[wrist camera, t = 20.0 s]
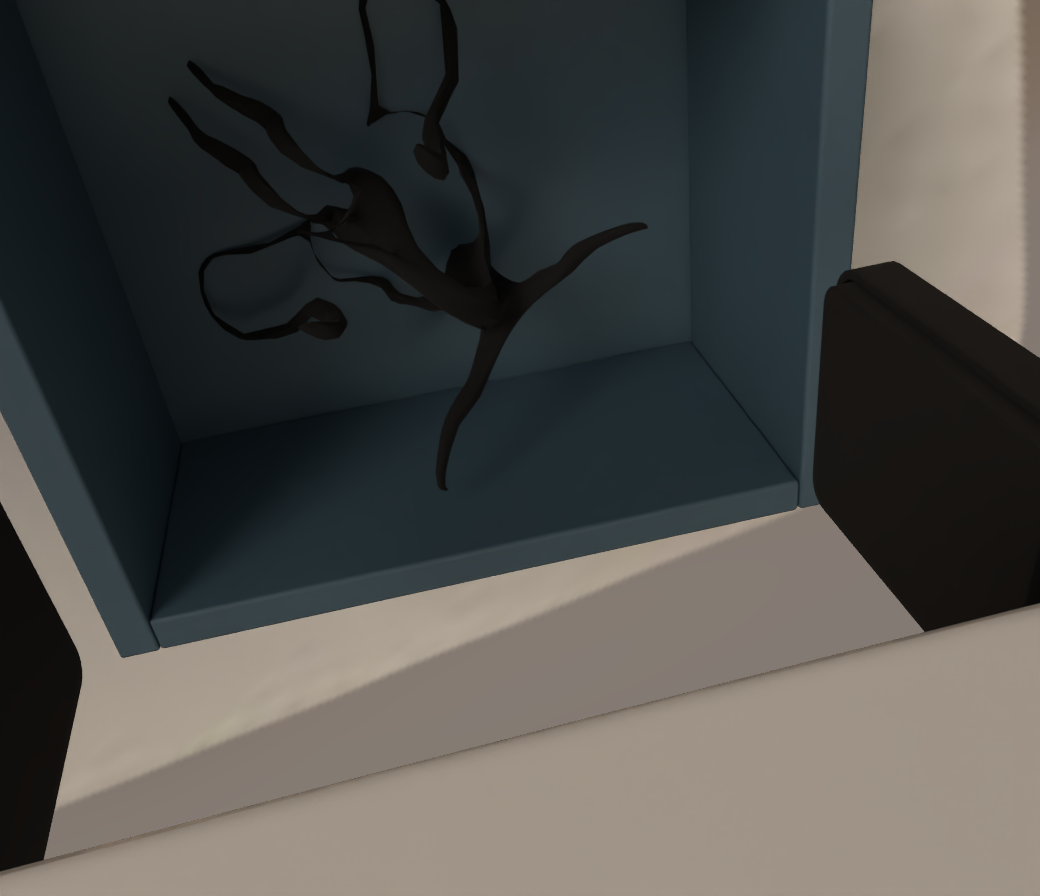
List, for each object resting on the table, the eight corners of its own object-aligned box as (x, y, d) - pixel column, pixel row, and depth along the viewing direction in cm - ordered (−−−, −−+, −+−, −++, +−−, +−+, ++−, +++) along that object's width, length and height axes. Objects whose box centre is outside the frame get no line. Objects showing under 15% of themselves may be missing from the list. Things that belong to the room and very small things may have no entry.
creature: (116, 237, 20) (436, 437, 22) (-8, 315, 15) (415, 563, 17) (306, -115, 17) (650, 149, 20) (229, -156, 13) (697, 202, 15)
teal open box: (162, 456, 23) (120, 660, 17) (-53, -96, 16) (-232, -57, 11) (709, 346, 24) (833, 503, 18) (705, -204, 18) (893, -218, 12)
